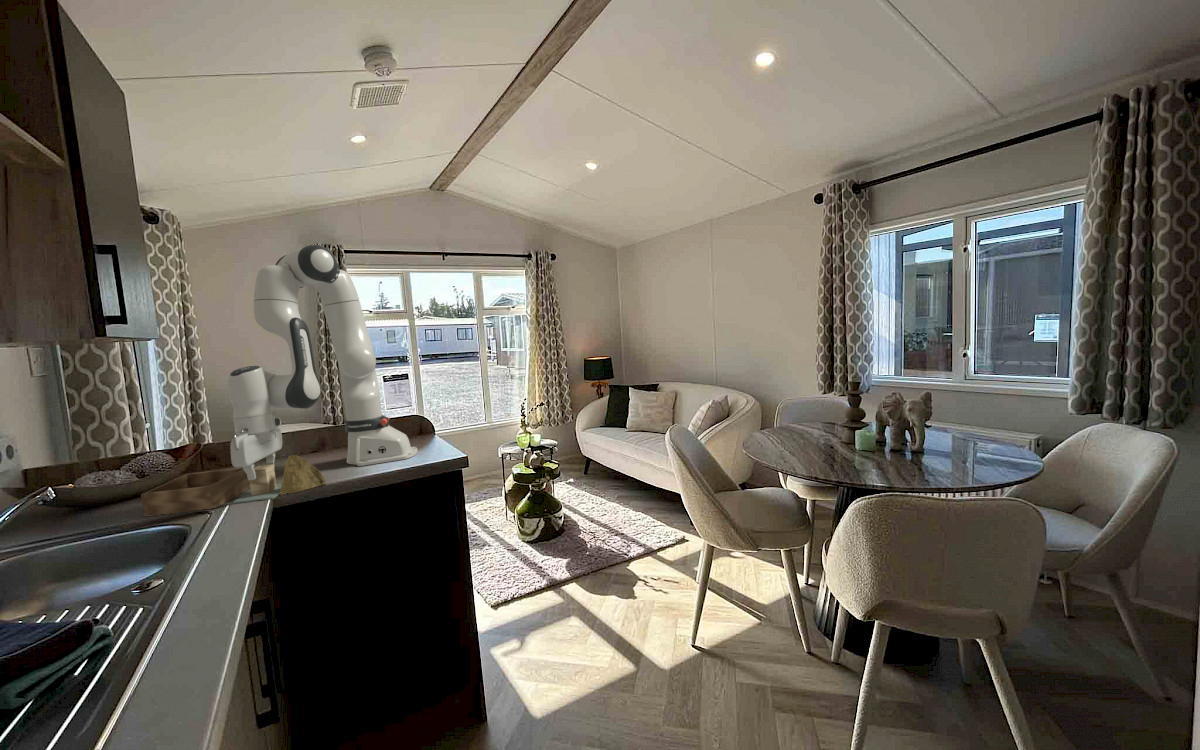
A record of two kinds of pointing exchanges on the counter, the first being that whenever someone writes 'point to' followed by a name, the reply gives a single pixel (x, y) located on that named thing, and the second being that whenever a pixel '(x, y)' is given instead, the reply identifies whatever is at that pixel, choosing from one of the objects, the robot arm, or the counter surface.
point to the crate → (195, 492)
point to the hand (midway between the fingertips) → (262, 474)
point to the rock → (300, 476)
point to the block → (263, 480)
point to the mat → (258, 496)
